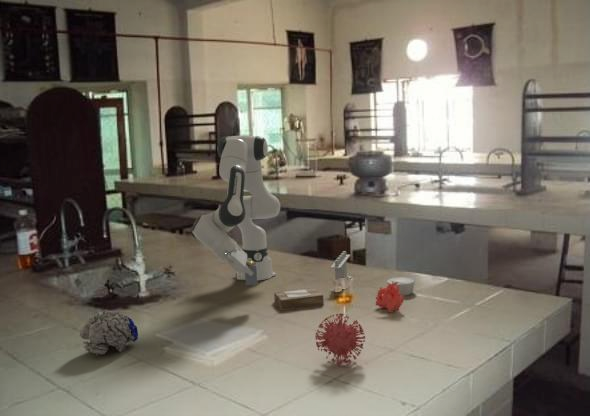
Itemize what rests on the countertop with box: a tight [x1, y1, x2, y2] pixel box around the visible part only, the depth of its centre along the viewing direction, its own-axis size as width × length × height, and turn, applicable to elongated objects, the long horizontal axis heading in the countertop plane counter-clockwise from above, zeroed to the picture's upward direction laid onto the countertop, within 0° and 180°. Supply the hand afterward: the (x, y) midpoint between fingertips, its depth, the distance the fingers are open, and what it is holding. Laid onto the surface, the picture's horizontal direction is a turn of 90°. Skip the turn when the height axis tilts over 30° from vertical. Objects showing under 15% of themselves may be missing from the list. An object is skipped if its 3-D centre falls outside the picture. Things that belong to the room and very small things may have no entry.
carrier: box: [244, 263, 259, 286], centre depth 246 cm, size 6×4×8 cm
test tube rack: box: [330, 250, 352, 293], centre depth 276 cm, size 25×4×13 cm, turn 165°
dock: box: [273, 287, 325, 311], centre depth 251 cm, size 12×17×4 cm
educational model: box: [79, 309, 139, 356], centre depth 208 cm, size 14×20×15 cm
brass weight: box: [247, 261, 254, 266], centre depth 245 cm, size 3×3×2 cm
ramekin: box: [386, 276, 415, 297], centre depth 260 cm, size 11×11×5 cm
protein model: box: [375, 282, 405, 314], centre depth 238 cm, size 9×12×12 cm
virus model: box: [314, 313, 366, 365], centre depth 188 cm, size 15×15×15 cm
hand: (252, 272), depth 246 cm, fingers closed on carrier, 5 cm apart
